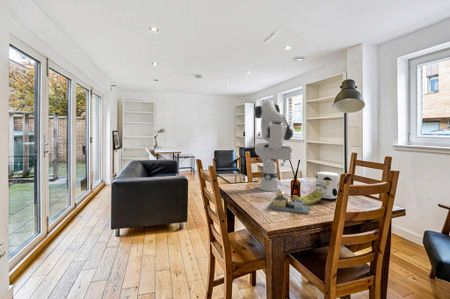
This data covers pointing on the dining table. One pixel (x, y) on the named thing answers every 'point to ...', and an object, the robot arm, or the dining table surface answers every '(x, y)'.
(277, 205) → the manifold
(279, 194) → the valve stub
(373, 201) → the dining table surface
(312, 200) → the plastic component
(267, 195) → the dining table surface
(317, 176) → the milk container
